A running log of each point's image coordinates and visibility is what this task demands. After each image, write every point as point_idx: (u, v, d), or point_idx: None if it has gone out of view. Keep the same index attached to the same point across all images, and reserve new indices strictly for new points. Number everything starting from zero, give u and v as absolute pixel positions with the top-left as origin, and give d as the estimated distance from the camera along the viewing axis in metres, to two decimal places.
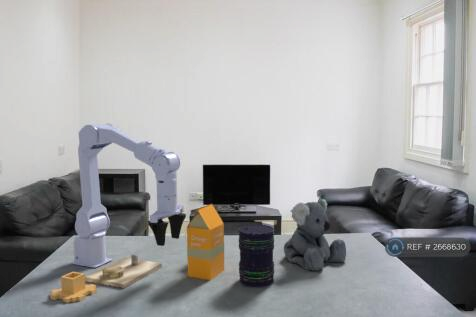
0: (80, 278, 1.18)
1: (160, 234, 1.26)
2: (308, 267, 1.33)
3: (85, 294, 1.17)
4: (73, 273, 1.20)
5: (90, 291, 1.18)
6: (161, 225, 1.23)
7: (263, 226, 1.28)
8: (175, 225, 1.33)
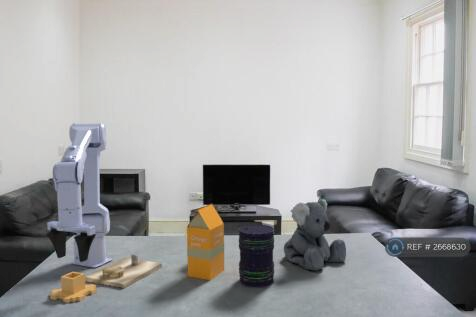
0: (80, 278, 1.18)
1: None
2: (308, 267, 1.33)
3: (85, 294, 1.17)
4: (73, 273, 1.20)
5: (90, 291, 1.18)
6: None
7: (263, 226, 1.28)
8: None
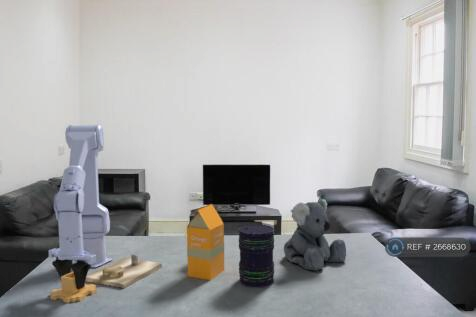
0: None
1: None
2: (308, 267, 1.33)
3: (85, 294, 1.17)
4: (73, 273, 1.20)
5: (90, 291, 1.18)
6: None
7: (263, 226, 1.28)
8: None
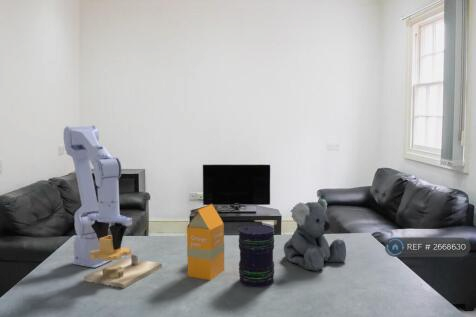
0: None
1: None
2: (308, 267, 1.33)
3: (121, 255, 1.27)
4: (110, 236, 1.31)
5: (125, 252, 1.28)
6: None
7: (263, 226, 1.28)
8: None
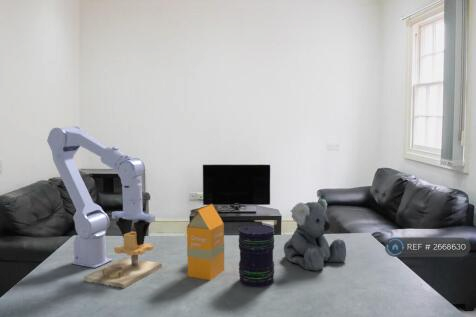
0: None
1: None
2: (308, 267, 1.33)
3: (144, 250, 1.35)
4: (133, 232, 1.38)
5: (148, 247, 1.36)
6: None
7: (263, 226, 1.28)
8: None
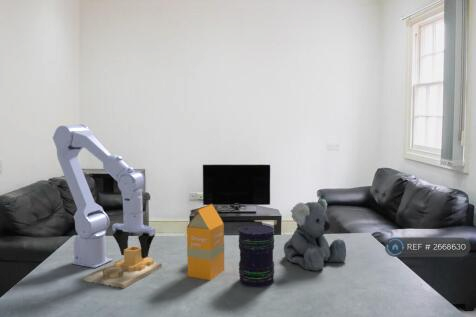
0: (140, 251, 1.36)
1: None
2: (308, 267, 1.33)
3: (145, 265, 1.36)
4: (133, 247, 1.39)
5: (149, 262, 1.37)
6: None
7: (263, 226, 1.28)
8: None
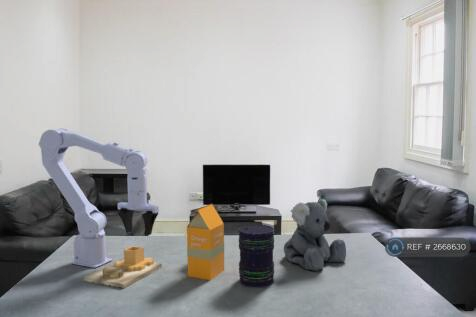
0: (140, 251, 1.36)
1: None
2: (308, 267, 1.33)
3: (145, 265, 1.36)
4: (133, 247, 1.39)
5: (149, 262, 1.37)
6: None
7: (263, 226, 1.28)
8: None
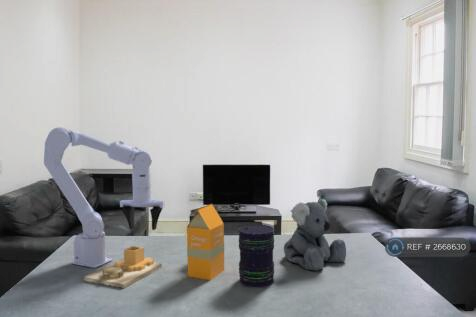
0: (140, 251, 1.36)
1: None
2: (308, 267, 1.33)
3: (145, 265, 1.36)
4: (133, 247, 1.39)
5: (149, 262, 1.37)
6: None
7: (263, 226, 1.28)
8: None
